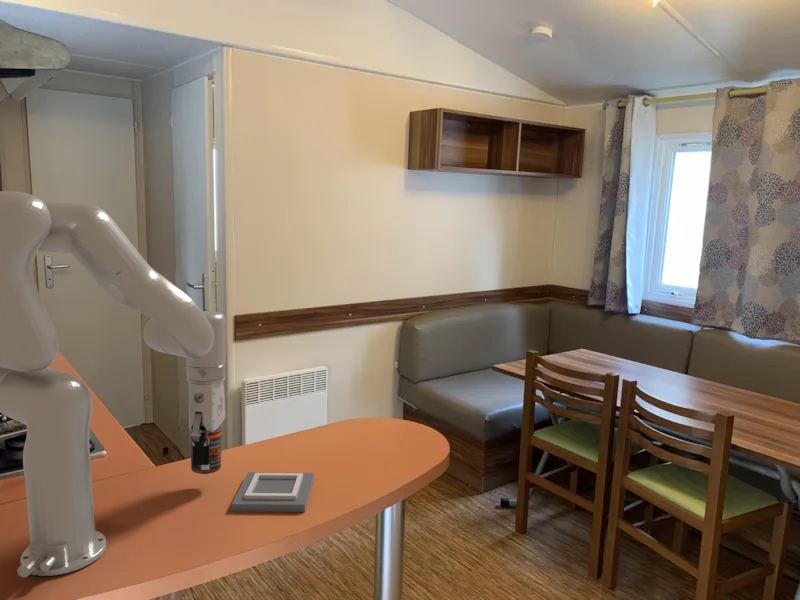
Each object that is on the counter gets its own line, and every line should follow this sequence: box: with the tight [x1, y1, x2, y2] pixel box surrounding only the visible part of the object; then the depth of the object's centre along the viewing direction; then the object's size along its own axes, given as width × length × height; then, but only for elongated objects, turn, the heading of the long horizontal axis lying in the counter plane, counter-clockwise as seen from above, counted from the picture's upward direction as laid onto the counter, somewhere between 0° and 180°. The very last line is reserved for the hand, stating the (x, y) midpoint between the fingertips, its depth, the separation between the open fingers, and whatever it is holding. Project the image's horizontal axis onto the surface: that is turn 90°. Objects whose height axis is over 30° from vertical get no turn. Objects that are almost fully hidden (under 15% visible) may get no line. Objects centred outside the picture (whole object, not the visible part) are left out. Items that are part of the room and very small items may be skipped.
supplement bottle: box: [190, 425, 222, 475], centre depth 127 cm, size 6×6×11 cm
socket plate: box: [231, 471, 315, 513], centre depth 125 cm, size 14×14×2 cm
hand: (206, 457), depth 127 cm, fingers closed on supplement bottle, 6 cm apart
